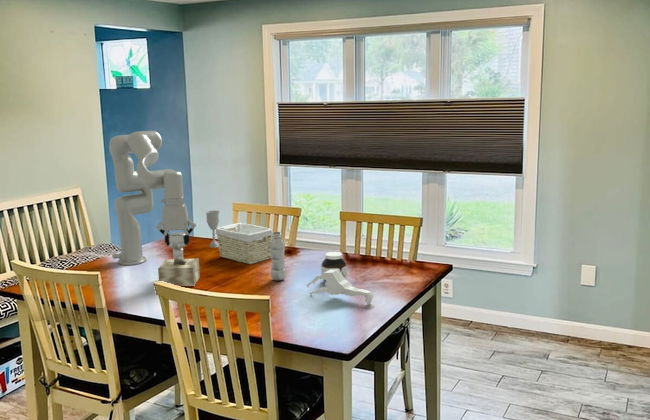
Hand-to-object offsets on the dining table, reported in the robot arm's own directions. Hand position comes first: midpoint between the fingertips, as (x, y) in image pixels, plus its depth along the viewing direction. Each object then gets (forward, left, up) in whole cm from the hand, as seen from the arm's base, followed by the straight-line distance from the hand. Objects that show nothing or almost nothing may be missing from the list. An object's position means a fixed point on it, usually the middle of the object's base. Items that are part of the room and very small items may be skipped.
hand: (177, 244), depth 252 cm
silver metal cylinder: (0, 0, -8) cm, 8 cm away
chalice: (+6, +60, -16) cm, 63 cm away
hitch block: (0, 0, -16) cm, 16 cm away
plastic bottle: (+41, -2, -16) cm, 44 cm away
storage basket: (+24, +35, -17) cm, 45 cm away
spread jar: (+64, -5, -17) cm, 66 cm away
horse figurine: (+65, -29, -17) cm, 73 cm away
